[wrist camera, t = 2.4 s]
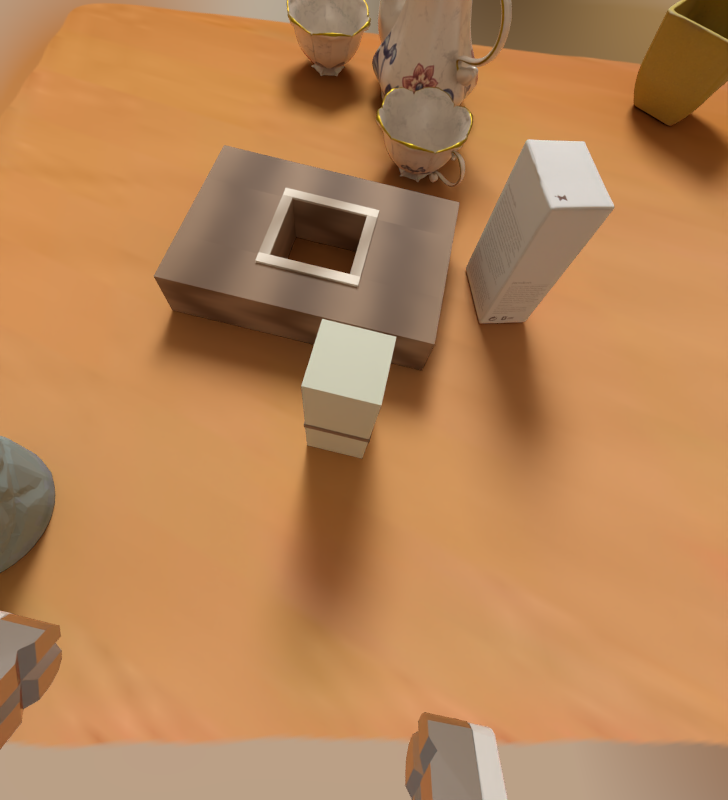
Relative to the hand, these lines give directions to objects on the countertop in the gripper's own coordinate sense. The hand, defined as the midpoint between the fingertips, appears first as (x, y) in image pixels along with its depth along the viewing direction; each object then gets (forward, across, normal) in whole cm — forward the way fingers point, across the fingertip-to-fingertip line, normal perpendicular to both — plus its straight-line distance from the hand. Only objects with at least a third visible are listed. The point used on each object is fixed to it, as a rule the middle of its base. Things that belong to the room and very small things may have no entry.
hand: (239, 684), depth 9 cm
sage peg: (+21, 0, +3) cm, 22 cm away
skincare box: (+32, -10, -7) cm, 34 cm away
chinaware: (+47, +3, -22) cm, 52 cm away
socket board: (+30, +5, -6) cm, 31 cm away
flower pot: (+55, -27, -31) cm, 69 cm away
